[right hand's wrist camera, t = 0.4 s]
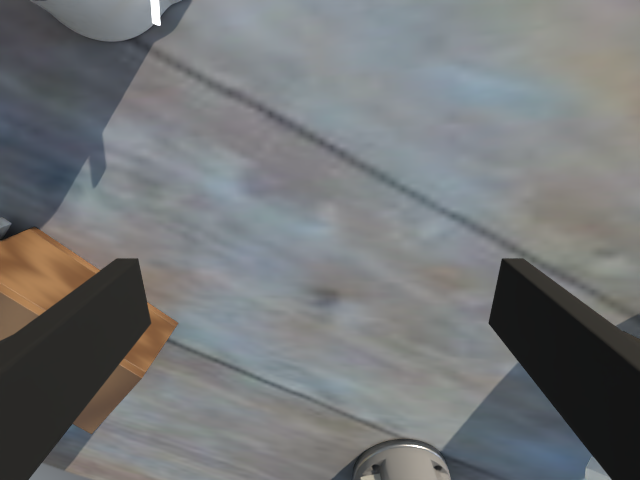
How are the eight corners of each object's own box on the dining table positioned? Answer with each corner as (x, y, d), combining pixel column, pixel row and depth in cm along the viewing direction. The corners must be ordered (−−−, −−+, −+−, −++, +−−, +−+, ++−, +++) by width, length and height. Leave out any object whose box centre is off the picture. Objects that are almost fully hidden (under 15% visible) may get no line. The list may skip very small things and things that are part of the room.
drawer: (-79, 244, 41) (-172, 275, 33) (-48, 183, 38) (-140, 202, 30) (108, 358, 47) (66, 406, 39) (146, 312, 44) (109, 354, 36)
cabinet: (-4, 286, 44) (-92, 335, 34) (34, 226, 41) (-50, 261, 31) (135, 371, 48) (91, 434, 39) (178, 323, 46) (142, 378, 36)
